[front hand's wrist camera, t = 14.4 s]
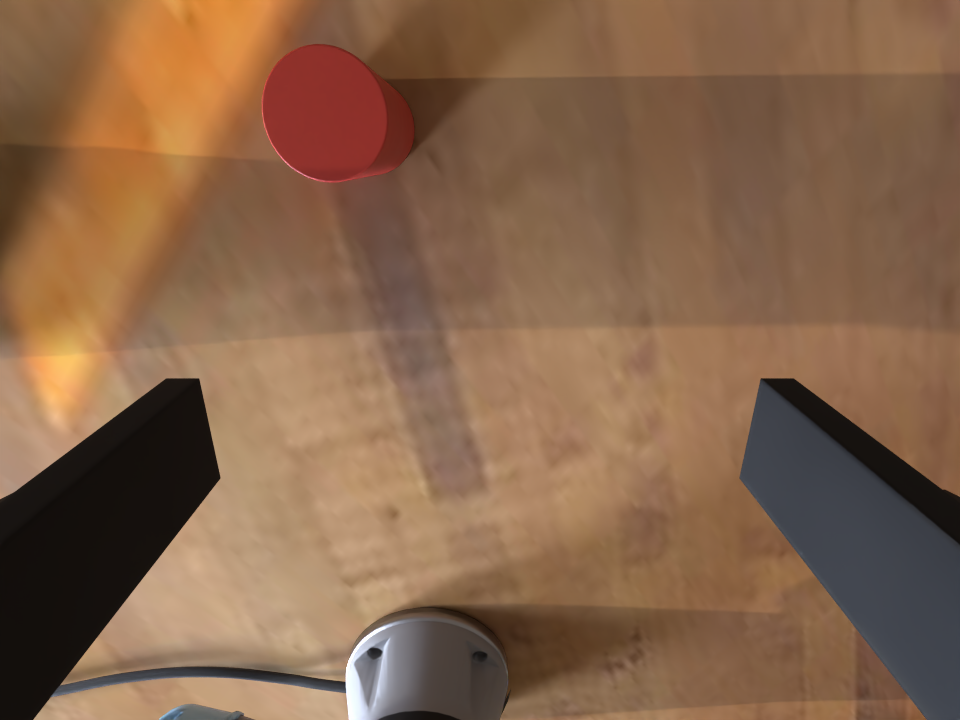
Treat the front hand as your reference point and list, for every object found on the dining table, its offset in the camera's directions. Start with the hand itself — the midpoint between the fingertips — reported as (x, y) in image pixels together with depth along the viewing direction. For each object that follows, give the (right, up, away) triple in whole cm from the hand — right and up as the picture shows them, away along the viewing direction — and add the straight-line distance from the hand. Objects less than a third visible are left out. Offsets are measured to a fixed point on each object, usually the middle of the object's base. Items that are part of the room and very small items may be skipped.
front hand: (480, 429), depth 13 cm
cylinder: (-7, +17, +22) cm, 29 cm away
